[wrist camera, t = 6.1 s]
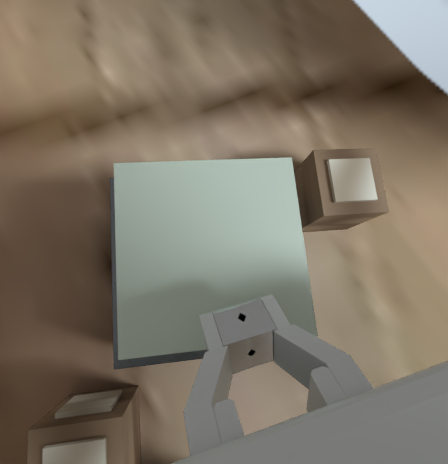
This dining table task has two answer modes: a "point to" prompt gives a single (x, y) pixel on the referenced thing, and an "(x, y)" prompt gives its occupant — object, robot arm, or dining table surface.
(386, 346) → the dining table surface
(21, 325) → the dining table surface
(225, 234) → the plain block
